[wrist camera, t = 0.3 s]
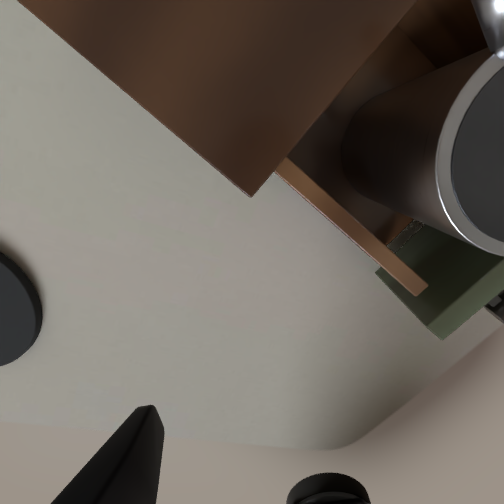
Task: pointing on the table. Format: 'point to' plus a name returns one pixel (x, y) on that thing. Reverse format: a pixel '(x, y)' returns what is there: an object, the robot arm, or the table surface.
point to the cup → (440, 143)
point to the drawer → (386, 219)
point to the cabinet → (228, 66)
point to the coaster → (17, 312)
